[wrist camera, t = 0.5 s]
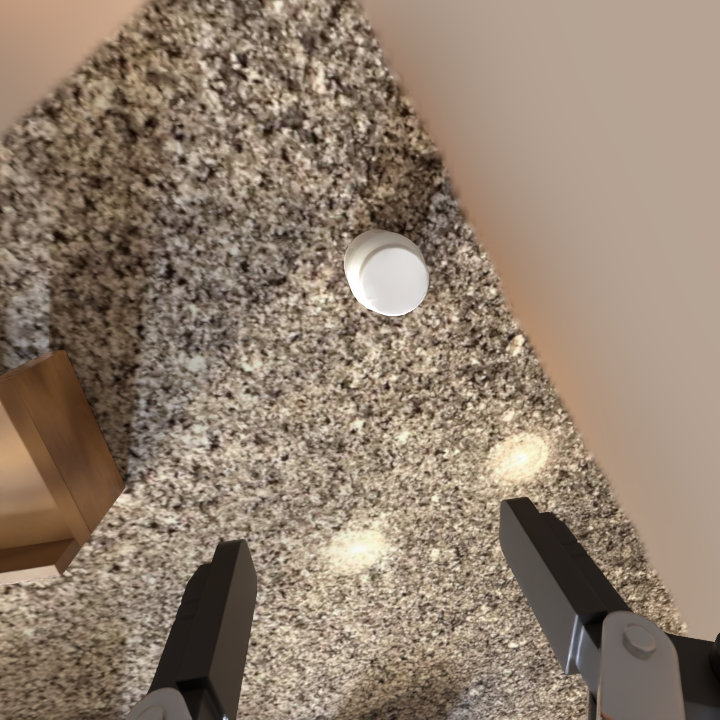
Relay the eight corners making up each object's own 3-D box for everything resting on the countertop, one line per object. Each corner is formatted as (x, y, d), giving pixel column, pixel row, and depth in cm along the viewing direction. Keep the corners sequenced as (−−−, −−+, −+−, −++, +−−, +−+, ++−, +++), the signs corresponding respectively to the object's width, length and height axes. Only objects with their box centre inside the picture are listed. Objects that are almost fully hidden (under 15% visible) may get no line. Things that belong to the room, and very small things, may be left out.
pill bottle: (366, 307, 27) (381, 341, 19) (331, 253, 25) (333, 270, 18) (419, 272, 26) (455, 294, 19) (386, 215, 24) (411, 216, 17)
